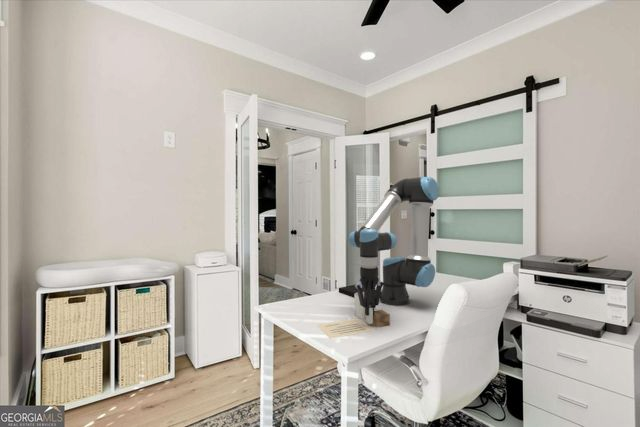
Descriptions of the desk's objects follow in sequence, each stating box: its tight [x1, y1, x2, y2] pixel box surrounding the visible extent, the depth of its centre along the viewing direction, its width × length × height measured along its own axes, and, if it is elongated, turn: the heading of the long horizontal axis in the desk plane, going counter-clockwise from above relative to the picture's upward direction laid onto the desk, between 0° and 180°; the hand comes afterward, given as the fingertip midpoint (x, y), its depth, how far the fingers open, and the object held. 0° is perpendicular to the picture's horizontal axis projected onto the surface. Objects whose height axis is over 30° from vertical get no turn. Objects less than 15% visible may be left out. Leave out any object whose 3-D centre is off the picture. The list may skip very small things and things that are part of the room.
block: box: [372, 309, 391, 328], centre depth 132 cm, size 6×6×5 cm
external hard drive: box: [338, 284, 381, 299], centre depth 178 cm, size 14×23×3 cm, turn 34°
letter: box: [316, 317, 377, 339], centre depth 129 cm, size 20×15×1 cm
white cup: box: [354, 292, 367, 319], centre depth 143 cm, size 8×8×10 cm
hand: (369, 322), depth 131 cm, fingers closed
